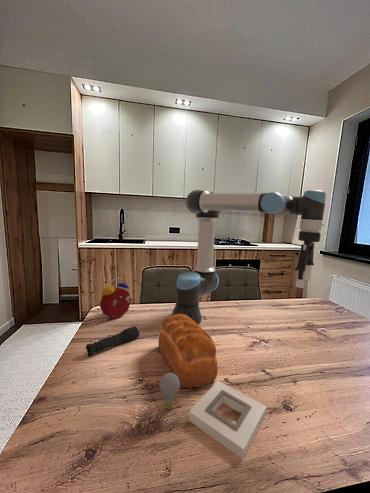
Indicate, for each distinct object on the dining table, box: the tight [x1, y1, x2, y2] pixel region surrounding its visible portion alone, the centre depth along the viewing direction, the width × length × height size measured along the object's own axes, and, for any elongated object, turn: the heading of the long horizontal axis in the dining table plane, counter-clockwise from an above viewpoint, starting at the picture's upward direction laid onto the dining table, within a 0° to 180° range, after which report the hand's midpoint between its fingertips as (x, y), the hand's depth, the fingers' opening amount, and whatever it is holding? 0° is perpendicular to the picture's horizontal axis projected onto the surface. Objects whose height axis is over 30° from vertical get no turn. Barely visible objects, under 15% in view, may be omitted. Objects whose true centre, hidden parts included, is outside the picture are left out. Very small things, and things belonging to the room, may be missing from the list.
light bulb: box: [159, 372, 181, 410], centre depth 63 cm, size 6×5×10 cm
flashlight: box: [85, 326, 140, 357], centre depth 92 cm, size 5×21×5 cm, turn 136°
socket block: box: [188, 380, 267, 460], centre depth 62 cm, size 15×15×3 cm
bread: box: [157, 314, 219, 389], centre depth 83 cm, size 14×26×16 cm, turn 26°
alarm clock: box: [99, 277, 132, 320], centre depth 115 cm, size 15×9×20 cm, turn 144°
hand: (302, 283), depth 94 cm, fingers open, 13 cm apart
